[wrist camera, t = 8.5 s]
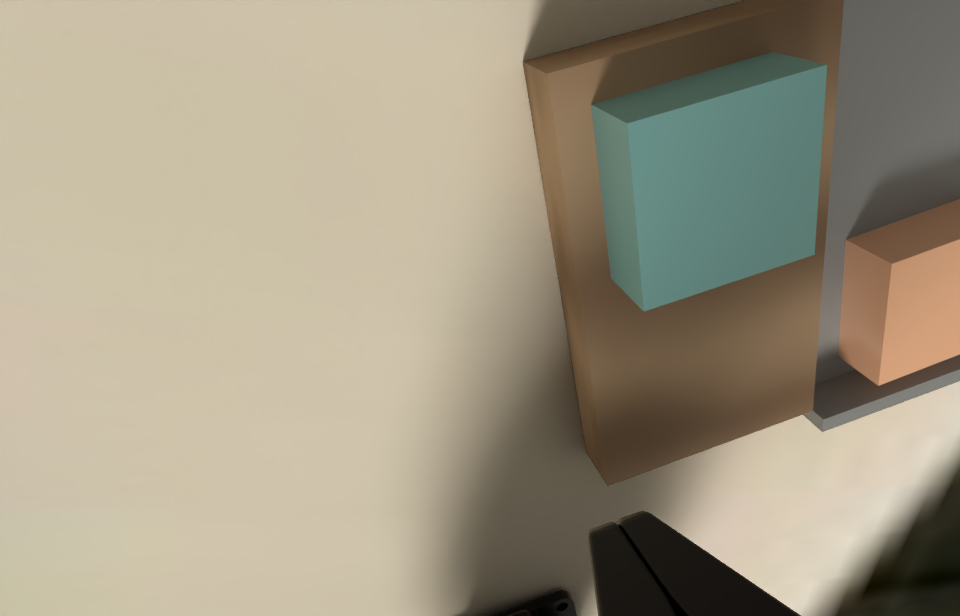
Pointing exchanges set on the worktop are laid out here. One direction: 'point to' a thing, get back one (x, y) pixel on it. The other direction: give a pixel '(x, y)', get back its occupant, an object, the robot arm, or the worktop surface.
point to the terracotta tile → (902, 295)
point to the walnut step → (701, 317)
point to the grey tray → (886, 170)
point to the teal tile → (711, 176)
